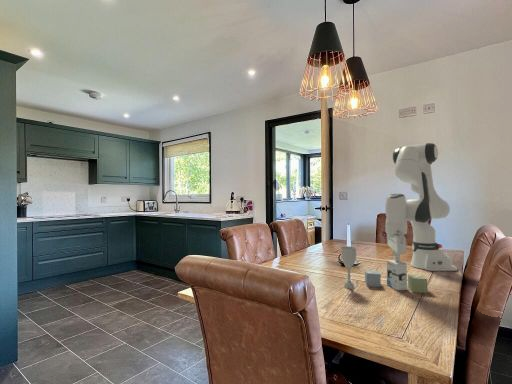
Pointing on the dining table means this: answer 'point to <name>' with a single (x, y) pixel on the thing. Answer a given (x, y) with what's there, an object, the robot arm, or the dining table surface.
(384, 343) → the dining table surface
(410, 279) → the olive block
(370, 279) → the slate block
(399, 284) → the ink box
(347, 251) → the chalice
